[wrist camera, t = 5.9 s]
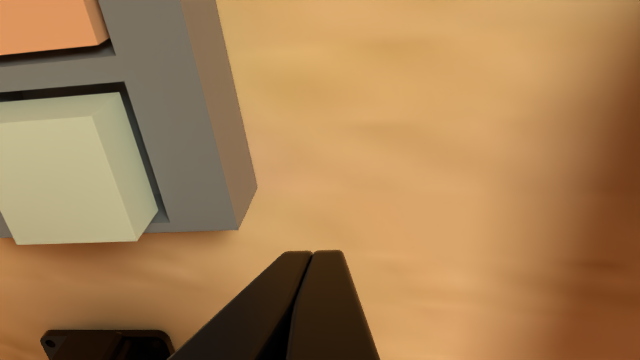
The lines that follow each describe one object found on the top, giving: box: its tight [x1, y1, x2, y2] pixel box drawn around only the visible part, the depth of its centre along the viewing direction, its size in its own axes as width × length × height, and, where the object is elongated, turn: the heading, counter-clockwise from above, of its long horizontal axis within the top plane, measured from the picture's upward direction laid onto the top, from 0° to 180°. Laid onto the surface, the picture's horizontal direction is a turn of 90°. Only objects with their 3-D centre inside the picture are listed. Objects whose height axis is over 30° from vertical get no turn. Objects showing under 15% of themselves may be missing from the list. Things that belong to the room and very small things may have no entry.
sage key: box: [0, 92, 158, 245], centre depth 19 cm, size 4×4×2 cm
